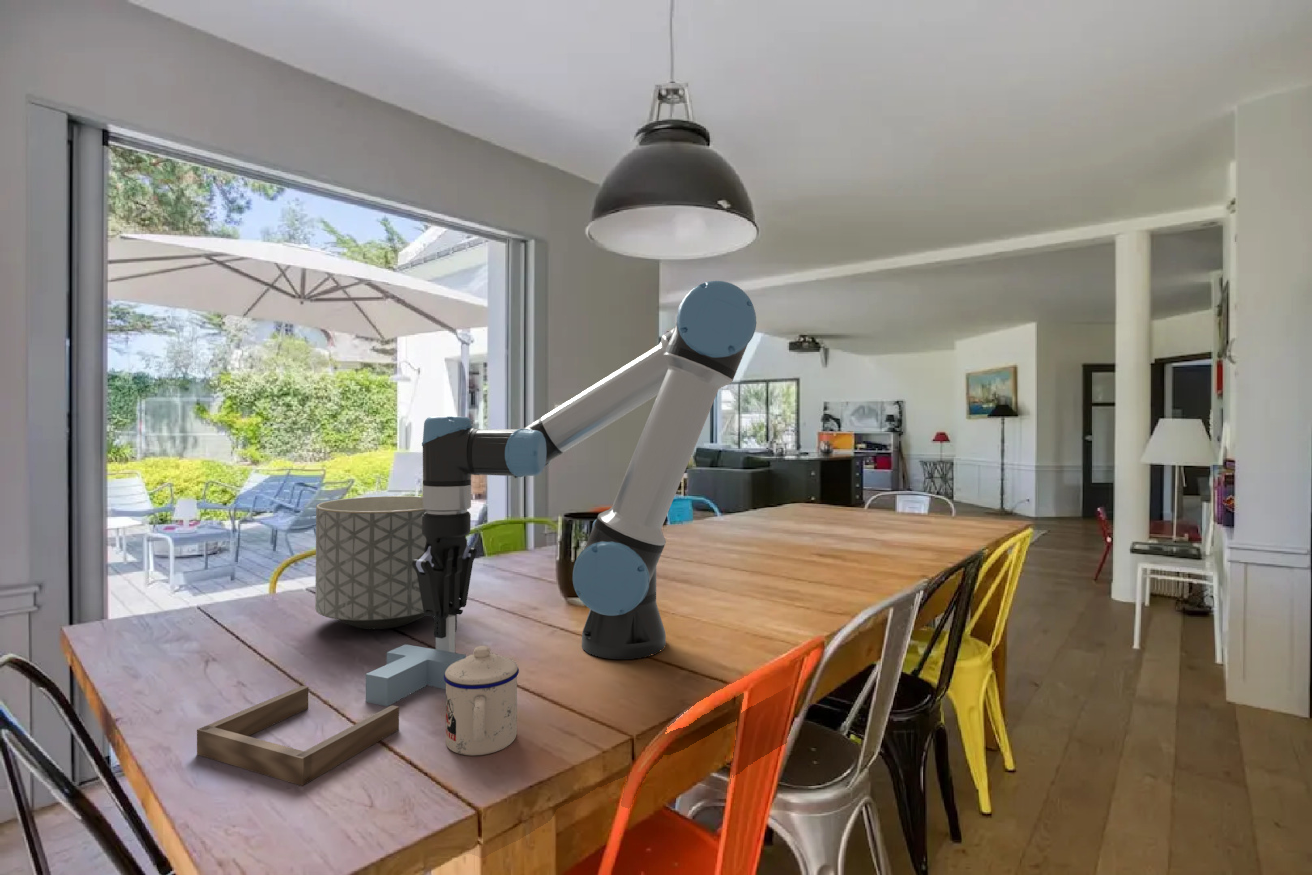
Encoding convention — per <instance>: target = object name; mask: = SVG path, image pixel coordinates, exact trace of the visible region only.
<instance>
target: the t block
mask: <svg viewBox="0 0 1312 875" xmlns="http://www.w3.org/2000/svg"><path fill="white" fill-rule="evenodd" d="M466 657H467V654H466V653H465V654H464V653H459V652H455V653H453V652H447V651H441V650H436V648H428V647H423V646H417V645H411V644H406V643H405V644H403V645H401V646H398V647H396V648H393V649H391V650H389V651H386V664H385V665H383V666H380V667H378V668H376V669H374V670H371V671H370V672H369V671H368V672H367V673H365V703H369V704H375V705H379V706H383V707H384V706H385V707H389V706H391V705H393V704H394V703H396V701H397V702H399V701H400V699H401V698H403V697H404V698H406V697H408V696H410V695H411V694H410V693H412V694H414V693H415V691H416V692H418V691H419V690H418V689H420V690H421V688H422V689H423V687H424V688H426V687H427V686H426V685H429V686H428V687H432V686H434V687H433V688H437V689H443V690H446V682H445V680H444V675H445V672H446V670H447V668H448V667H449V666H450V665H451V664H453V663H454V662H456V661H459V660H461V659H465V658H466ZM417 690H418V691H417ZM409 694H410V695H409ZM407 695H408V696H407ZM404 698H403V699H404ZM401 700H402V699H401Z"/></svg>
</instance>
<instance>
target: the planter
mask: <svg viewBox="0 0 1312 875" xmlns="http://www.w3.org/2000/svg"><path fill="white" fill-rule="evenodd" d="M425 512H427V510H424V509H423V495H422V496H419V495H417V496H415V495H380V496H363V497H361V496H360V497H349V498H342V499H341V498H339V499H334V500H328V501H323V502H320V503H318V504H316V507H315V593H314V594H315V595H314V598H315V601H314V604H315V606H314V607H315V609H314V610H315V611H316V613H317V614H318V615H321V616H323V617H325V618H329V619H333V620H338V621H340V622H342V623H343V624H346V625H348V626H351V627H355V628H359V629H366V630H388V629H390V630H391V629H395V628H399V627H403V626H406V625H409V624H411V623H414V622H416V621H418V620H420V619H422V618H423V617H425V616H426V615H424V611H423V605H422V600H421V594H420V588H419V583H418V577H417V573H416V571H415V569H414V567H413V565H412V562H413V560H414V559H420V558H421V557H422V556H423V555H424V547H425V545H426V537H425V536H424V535H423V534H422V515H423V514H424V513H425Z"/></svg>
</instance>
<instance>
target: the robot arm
mask: <svg viewBox="0 0 1312 875" xmlns="http://www.w3.org/2000/svg"><path fill="white" fill-rule="evenodd" d="M756 328H757V315H756V310H755V307H754V305H753V302H752V300H751V299H750V297H749V295H748V294H747V293H746V292H745V291H744V290H743V289H742V288H741V287H739V286H737V285H735V284H733V283H731V282H728V281H723V280H711V281H706V282H703V283H700V284H698V285H697V286H695V287H693V288H692V289H691V290H689V292H687V294H686V295H685V297H683V298H682V300H681V302H680V304H679V306H678V308H677V315H676V323H675V325H674V327H673V328H672V329H670V330H669V331H667V332H666V333H664V334H662V335H661V338H660V342H659V344H657V345H656V346H654V347H652V348H651V349H650V350H648V351H646V352H644V353H643V354H641V355H640V356H638V357H636V358H635V359H634V360H631V361H630V362H628V363H627V364H625V365H623V366H622V367H620V368H619V369H617V370H616V371H614V372H612V373H610V374H609V375H607V376H606V377H604V378H603V379H600V380H599V381H598V382H596V383H594V384H593V385H592V386H590V387H588V388H586V389H585V390H583V391H582V392H580V393H579V394H576V395H575V396H574V397H572V398H571V399H569V400H567V401H565V402H564V403H562V404H561V405H559V406H558V407H556V408H554V409H552V410H551V411H550V412H548V413H546V414H544V415H542V417H540V418H539V419H536V420H535V421H533V422H531V423H529V424H528V425H527V426H525V427H522V428H517V429H515V428H513V429H510V428H508V429H507V428H506V429H505V428H503V429H502V428H499V429H497V428H495V429H493V428H492V429H491V428H490V429H488V428H487V429H481V428H474V427H473V425H472V424H473V423H472V418H470V417H468V416H445V415H442V416H441V415H439V416H438V415H437V416H436V415H434V416H433V415H432V416H431V415H430V416H428V417H427V418H425V420H424V422H423V433H422V434H423V435H422V442H421V446H422V497H423V509H424V510H427V512H425V513H424V514H423V515H422V534H423V535H424V536H425V537H426V545H425V547H424V555H423V556H422V557H421V558H420V559H414V560H413V562H412V565H413V567H414V569H415V571H416V573H417V577H418V583H419V588H420V594H421V600H422V605H423V611H424V615H425V616H427V617H433V636H434V637H435V649H436V650H441V651H447V652H453V653H456V632H457V627H458V626H457V625H458V619H457V617H458V615H460V616H461V615H462V613H463V612H464V609H461V608H465V607H466V606H467V603H468V596H469V589H470V583H471V577H472V571H473V565H474V561H475V558H476V555H477V553H478V549H477V548H476V547H470V545H468V540H467V536H468V535H469V534H470V533H471V520H472V519H471V518H472V517H471V516H472V515H471V513H470V511H468V510H470V509H471V508H472V479H471V478H472V475H473V476H500V477H501V476H504V477H505V476H507V477H509V476H510V477H518V478H522V477H536V476H539V475H541V474H542V472H544V468H545V467H546V466H547V465H549V463H550V462H551V461H552V460H554V459H556V458H557V457H559V456H560V455H562V454H563V453H565V452H567V451H568V450H570V449H571V448H573V447H575V446H576V445H578V444H580V443H582V442H583V441H585V440H586V439H587V438H590V437H592V435H595V434H596V433H597V432H599V431H601V430H602V429H605V428H606V427H608V426H609V425H611V424H612V423H614V422H616V421H618V420H619V419H621V418H622V417H625V415H627V414H628V413H631V412H632V411H633V410H635V409H637V408H639V407H640V406H641V405H643V404H645V403H647V402H649V401H650V400H651V399H654V398H655V397H656V398H655V400H654V403H653V405H652V408H651V411H650V412H649V415H648V418H647V420H646V422H645V425H644V427H643V430H642V432H641V435H640V436H639V439H638V442H637V444H636V446H635V449H634V451H633V453H632V457H631V459H630V462H629V464H628V467H627V468H626V471H625V474H624V476H623V479H622V482H621V484H620V486H619V488H618V491H617V494H616V496H615V498H614V501H613V504H612V506H611V507H610V508H609V509H607V510H604V511H602V512H600V513H598V515H597V516H596V519H595V520H594V521H593V523H592V528H591V532H590V534H589V536H588V539H587V541H586V544H585V546H584V548H583V550H582V551H581V552H580V553H579V554H578V556H577V557H576V559H575V562H574V564H573V569H572V584H573V588H574V591H575V593H576V595H577V597H578V598H579V600H580V601H581V603H582V604H583V605H584V606H585V607H587V608H588V609H589V611H588V615H587V617H586V621H585V623H584V625H583V626H584V627H583V629H582V632H581V633H582V634H581V648H582V649H583V651H584V650H585V653H587V654H589V655H591V654H592V656H594V655H595V657H597V656H598V658H603V659H610V660H635V659H634V658H638V659H642V658H641V657H644V658H646V657H645V656H648V657H650V656H649V655H651V654H655V653H657V652H659V651H660V650H662V649H663V648H664V646H665V645H666V629H665V627H664V623H663V621H662V617H661V614H660V611H659V608H658V604H657V565H658V563H659V561H660V560H659V559H660V558H661V555H662V553H663V550H664V548H665V545H666V542H667V541H666V537H665V536H664V533H663V531H662V530H663V529H662V528H663V525H664V523H665V520H666V518H667V516H668V515H669V510H670V508H671V506H672V503H673V501H674V498H675V496H676V495H677V492H678V489H679V487H680V485H681V482H682V480H683V477H684V474H685V473H686V469H687V467H688V465H689V462H690V460H691V457H692V455H693V453H694V451H695V448H696V446H697V443H698V440H699V438H700V436H701V433H702V430H703V428H704V427H705V424H706V421H707V418H708V417H709V414H710V411H711V409H712V406H713V404H714V401H715V399H716V397H717V395H718V392H719V390H720V389H721V388H723V387H725V386H727V385H729V384H731V383H733V381H734V379H735V376H736V374H737V372H738V368H739V366H740V364H741V362H742V359H743V357H744V354H745V353H746V350H747V347H748V345H749V343H750V342H751V341H752V339H753V337H754V335H755V332H756ZM665 647H666V646H665ZM664 649H665V648H664ZM664 649H663V650H664ZM663 650H662V651H663ZM659 653H660V652H659ZM657 654H658V653H657ZM655 655H656V654H655Z"/></svg>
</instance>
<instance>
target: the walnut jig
mask: <svg viewBox="0 0 1312 875" xmlns="http://www.w3.org/2000/svg"><path fill="white" fill-rule="evenodd" d="M303 710H304V711H306V710H309V686H306V685H300V686H298V687H296V688H293V689H291V690H288V691H286V692H284V693H282V694H279V695H276V696H274V697H272V698H269V699H267V700H263V702H260V703H258V704H255V705H252V706H249V707H248V708H245V709H243V710H241V711H238V712H236V713H233V714H231V715H228V716H227V717H223V718H221V719H219V720H217V721H214V722H211V723H210V724H207V725H204V726H202V727H200V728H197V729H196V755H197V756H201V757H204V758H208V759H211V760H214V761H218V762H221V763H224V764H228V765H231V766H233V767H238V768H241V769H244V770H247V771H251V772H254V773H258V774H261V775H265V776H268V777H271V778H274V779H278V780H281V781H284V782H288V783H291V784H294V785H299V786H300V787H301V786H302V787H303V786H305V785H307V784H308V783H310V782H311V781H313V780H315V779H317V778H319V777H321V775H324V774H325V773H327V772H328V771H330V770H333V769H334V768H335V767H337V766H339V765H341V764H342V763H344V762H346V761H347V760H349V759H352V758H353V757H355V756H356V755H358V754H359V753H361V752H362V751H365V750H367V749H368V748H370V747H372V746H373V745H375V744H377V743H378V742H380V741H382V740H384V739H386V738H387V737H389V736H390V735H393V734H394V733H396V732H397V731H400V706H397V705H393V704H391V705H389V706H386V708H383V709H382V710H380V711H378V712H377V713H374V714H372V715H370V716H368V717H367V718H365V719H363V720H361V721H359V722H357V723H355V724H353V725H352V726H350V727H348V728H346V729H344V730H342V731H340V732H338V733H336V734H334V735H332V736H331V737H329V738H327V739H324V740H323V741H321V742H319V743H317V744H315V745H314V746H312V747H310V748H307V749H306V750H300V749H297V748H293V747H290V746H285V745H281V744H278V743H275V742H271V741H266V740H263V739H259V738H255V737H253V736H252V735H254V734H256V733H258V732H260V731H263V730H264V729H267V728H269V727H271V726H274V725H275V724H274V723H276V724H278V723H280V722H282V721H284V720H286V719H288V718H290V717H293V716H295V715H297V714H299V713H301V711H302V712H303ZM294 714H295V715H294Z"/></svg>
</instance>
